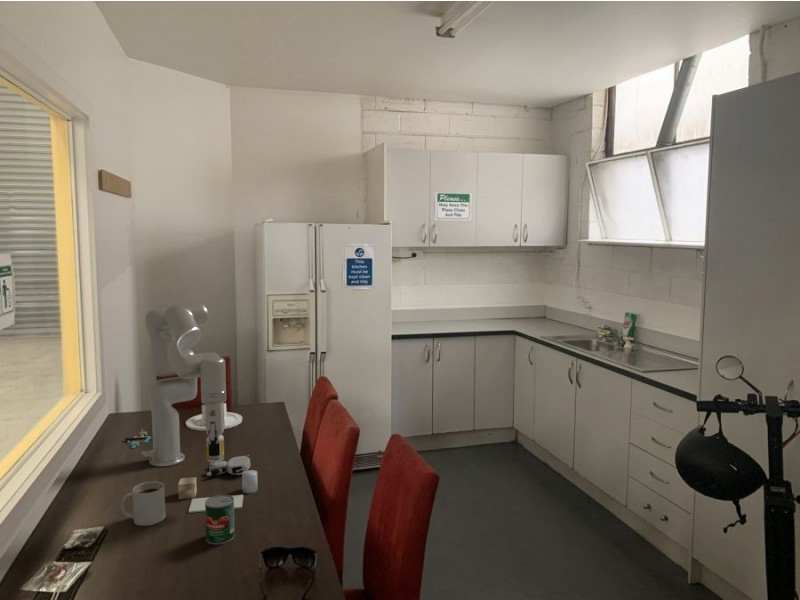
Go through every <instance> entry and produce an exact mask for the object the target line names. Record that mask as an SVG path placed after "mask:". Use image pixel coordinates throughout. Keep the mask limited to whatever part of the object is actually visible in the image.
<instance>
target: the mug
mask: <svg viewBox="0 0 800 600" xmlns="http://www.w3.org/2000/svg"><path fill="white" fill-rule="evenodd" d="M129 497H132V512H133V513H129V512H128V511H126V509H125V501H126V500H127V498H129ZM165 501H166V499H165V484H164V482H160V481H146V482H142V483H139V484H137V485H135V486H133V488H132V490H131V491H130V492H128V493H127V494H125V495H124V497H123V498H122V500H121V504H120V509H121V513H122V514H123V515H124V516H125V517H126V518H130V519H133V523H134V524H135V525H136V526H139V527H141V526H143V527H145V526H147V527H148V526H152V525H156V524H158V523H160V522H162V521H164V519H165V518H166V502H165Z"/></svg>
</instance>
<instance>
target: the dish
mask: <svg viewBox="0 0 800 600" xmlns="http://www.w3.org/2000/svg"><path fill="white" fill-rule="evenodd" d="M223 404H224V421H225V427H224V430H225V429H230V428H234V427H236V426H238V425H239V424H241V423H242V422H243V416H242V415H241V414H240V413H239V414H238V413H236V412H230V411H227V402H223ZM185 426H186V427H187V428H188V429H190V430H195V431H201V432H203V431H205V432H206V417H205V404H202V405H201V413H200V414H197V415H194V416H192V417H190V418H188V419H186V421H185Z"/></svg>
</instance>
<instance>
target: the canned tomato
mask: <svg viewBox="0 0 800 600" xmlns="http://www.w3.org/2000/svg"><path fill="white" fill-rule="evenodd" d="M232 496H233V495H230V494H218V495H214V496H211V497H210V498H209V497H207V498H208V499H207V500H206V501H205V516H204V519H205V541H206V542H207V543H208V544H209V545H224V544H226V543H229V542H230V541H232V540H234V538H235V531H236V530H235V509H234V498H233V497H232Z"/></svg>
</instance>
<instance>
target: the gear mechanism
mask: <svg viewBox="0 0 800 600" xmlns="http://www.w3.org/2000/svg"><path fill="white" fill-rule="evenodd" d="M140 435H141V436H140ZM144 435H146V436H144ZM151 438H152V436H150V435H149V436H148V431H144V429H143V428H141V431H140V432H139V433H138V435H134V436H133V437H131V436H130V437H125V438H124V441H127V443H131V444H130V447H131V446H132V447H131V448H135V447H136V446H137V447H139V446H140V443H139V442H142V443H141V444H144V443H143V442H147V443H148V442H149V441H150V440H151ZM149 439H150V440H149ZM134 440H137V441H134ZM139 440H140V441H139ZM141 440H144V441H141ZM148 440H149V441H148ZM130 441H131V442H130ZM137 447H136V448H137ZM131 448H130V449H131ZM136 448H135V449H136Z"/></svg>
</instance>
